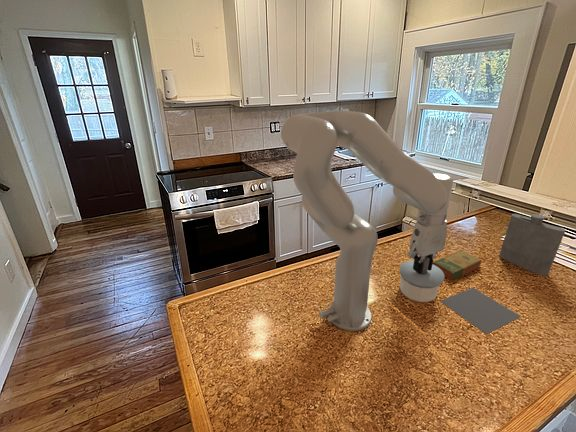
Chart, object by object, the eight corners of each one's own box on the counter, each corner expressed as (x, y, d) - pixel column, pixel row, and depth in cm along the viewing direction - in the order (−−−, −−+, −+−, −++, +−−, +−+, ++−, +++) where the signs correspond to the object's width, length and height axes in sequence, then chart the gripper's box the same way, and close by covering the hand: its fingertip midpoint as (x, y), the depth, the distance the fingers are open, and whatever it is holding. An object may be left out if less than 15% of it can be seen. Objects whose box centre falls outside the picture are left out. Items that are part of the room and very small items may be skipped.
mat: (485, 335, 81) (486, 334, 81) (439, 302, 94) (440, 300, 94) (520, 318, 87) (521, 316, 87) (472, 288, 99) (473, 287, 99)
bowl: (417, 308, 92) (420, 292, 89) (392, 288, 101) (394, 273, 99) (443, 297, 96) (447, 282, 93) (417, 279, 105) (419, 264, 103)
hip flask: (549, 274, 106) (570, 222, 97) (544, 277, 104) (564, 225, 96) (502, 253, 118) (516, 206, 110) (496, 256, 117) (510, 209, 108)
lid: (421, 291, 88) (425, 274, 85) (390, 269, 99) (392, 253, 96) (453, 279, 92) (457, 263, 90) (420, 259, 103) (423, 244, 101)
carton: (479, 269, 110) (482, 259, 108) (450, 283, 103) (453, 272, 101) (458, 258, 117) (460, 249, 115) (430, 271, 110) (432, 261, 108)
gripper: (420, 227, 81) (411, 283, 89) (462, 215, 87) (450, 269, 95) (400, 217, 87) (393, 270, 95) (441, 207, 93) (431, 257, 101)
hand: (422, 269), depth 95 cm, fingers closed on lid, 3 cm apart
